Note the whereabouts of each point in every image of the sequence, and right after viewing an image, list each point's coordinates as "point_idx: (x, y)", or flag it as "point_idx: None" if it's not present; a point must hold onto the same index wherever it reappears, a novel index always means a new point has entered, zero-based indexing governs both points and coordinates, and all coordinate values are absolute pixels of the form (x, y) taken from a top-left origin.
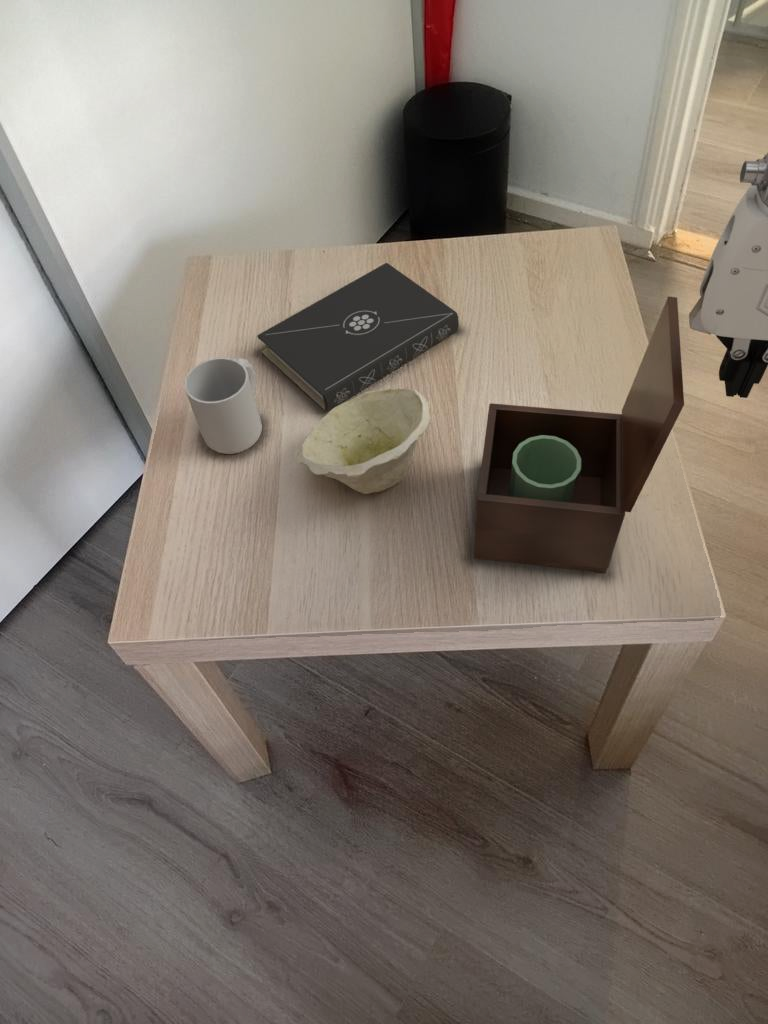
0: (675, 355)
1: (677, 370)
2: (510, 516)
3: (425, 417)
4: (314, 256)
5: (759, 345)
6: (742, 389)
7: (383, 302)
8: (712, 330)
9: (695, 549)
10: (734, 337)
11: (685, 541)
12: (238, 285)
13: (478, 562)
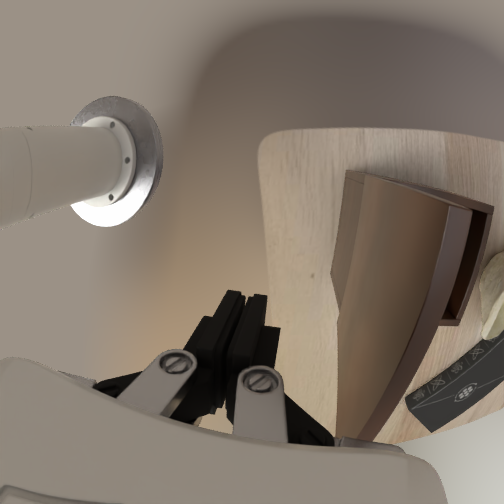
0: (405, 376)
1: (424, 333)
2: (459, 195)
3: (498, 307)
4: (455, 427)
5: (202, 396)
6: (238, 303)
7: (447, 408)
8: (418, 468)
9: (263, 196)
10: (323, 451)
11: (270, 204)
12: (496, 401)
13: (443, 186)
